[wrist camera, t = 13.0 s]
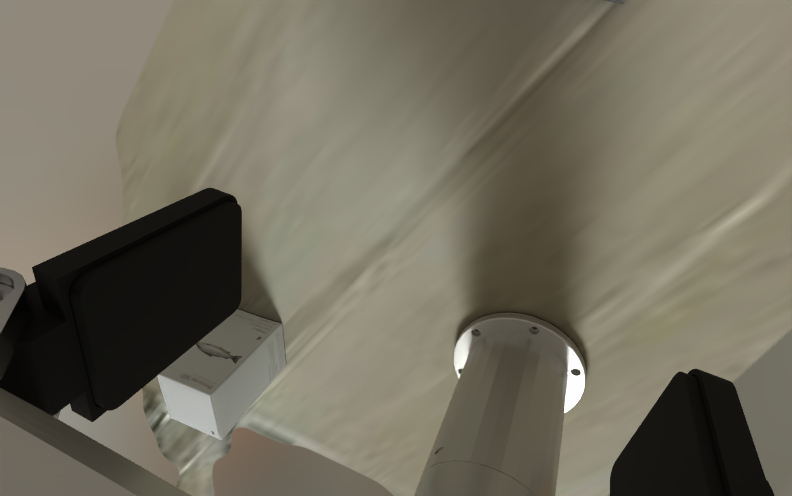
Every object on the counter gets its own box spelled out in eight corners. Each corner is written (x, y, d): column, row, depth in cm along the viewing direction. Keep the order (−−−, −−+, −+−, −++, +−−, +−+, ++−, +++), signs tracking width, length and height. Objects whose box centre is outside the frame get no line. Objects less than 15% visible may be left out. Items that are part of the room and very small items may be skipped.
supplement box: (283, 321, 57) (211, 396, 46) (287, 366, 60) (221, 443, 50) (233, 305, 59) (154, 372, 49) (240, 348, 63) (168, 420, 52)
